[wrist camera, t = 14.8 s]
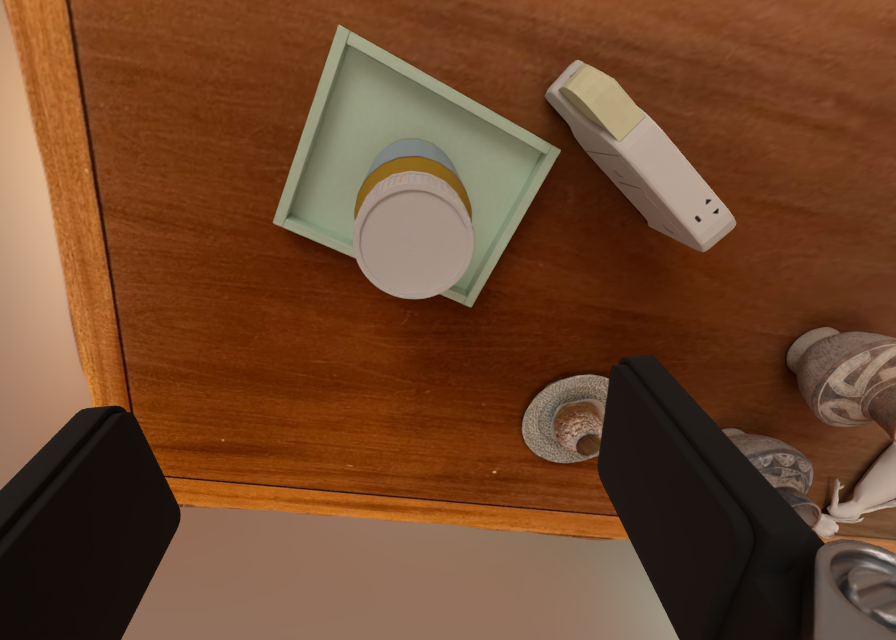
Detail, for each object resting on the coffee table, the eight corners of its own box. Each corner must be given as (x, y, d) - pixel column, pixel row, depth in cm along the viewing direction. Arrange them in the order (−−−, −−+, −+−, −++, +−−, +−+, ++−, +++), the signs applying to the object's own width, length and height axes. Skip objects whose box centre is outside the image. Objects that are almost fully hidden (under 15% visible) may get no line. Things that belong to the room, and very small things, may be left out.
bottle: (443, 236, 38) (459, 319, 25) (360, 214, 37) (332, 290, 23) (468, 152, 35) (502, 196, 22) (379, 125, 34) (358, 153, 20)
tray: (280, 215, 37) (272, 223, 35) (343, 27, 31) (338, 24, 29) (468, 296, 42) (471, 307, 40) (553, 146, 36) (561, 150, 34)
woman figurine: (991, 472, 52) (859, 557, 60) (952, 443, 56) (833, 527, 64) (926, 445, 49) (797, 538, 57) (890, 416, 53) (774, 507, 61)
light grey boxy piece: (558, 70, 35) (675, 204, 39) (532, 99, 36) (648, 228, 40) (598, 43, 25) (751, 229, 29) (560, 85, 26) (713, 260, 29)
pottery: (885, 328, 47) (1023, 400, 36) (727, 489, 57) (799, 582, 46) (808, 291, 44) (933, 357, 33) (656, 467, 54) (715, 560, 44)
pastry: (511, 454, 51) (520, 486, 47) (530, 366, 46) (542, 394, 42) (611, 456, 53) (628, 488, 49) (641, 371, 47) (663, 398, 43)
